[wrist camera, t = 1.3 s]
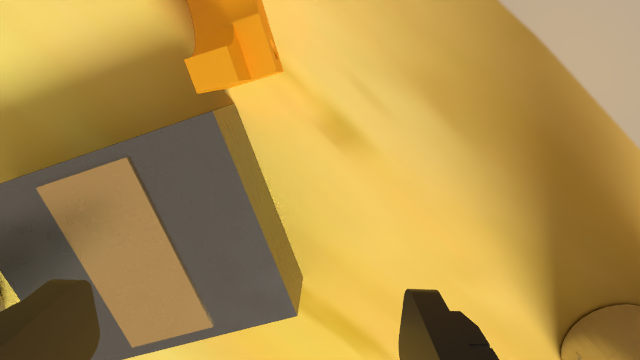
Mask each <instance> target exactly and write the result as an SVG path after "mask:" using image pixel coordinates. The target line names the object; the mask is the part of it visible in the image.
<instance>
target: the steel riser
mask: <svg viewBox="0 0 640 360" xmlns="http://www.w3.org/2000/svg"><path fill="white" fill-rule="evenodd" d="M0 271H1V273H2V274H3V276H4V277H5V279H6V280H7V281H8V283H9V284H10V286H11V287H12V289H13V290H14V292H15V293H16V295H17V296H18V297H19V299H20V300H21V301H22V300H24V299H25V298H26V297H28V296H29V295H30V294H32V293H33V292H34V291H35V290H37V289H38V288H39V287H41V286H42V285H43V284H45V283H46V282H48V281H50V280H53V279H65V280H86V281H88V282H89V283H90V285H91V287H92V291H93V296H94V302H95V307H96V312H97V317H98V323H99V328H100V339H99V343H98V347H97V349H96V351H95V353H94V355H93V357H92V358H91V359H90V360H123V359H127V358H131V357H135V356H139V355H143V354H147V353H151V352H155V351H159V350H163V349H167V348H171V347H175V346H179V345H183V344H187V343H191V342H195V341H199V340H203V339H207V338H211V337H215V336H219V335H223V334H227V333H231V332H235V331H239V330H243V329H247V328H251V327H255V326H259V325H263V324H267V323H271V322H275V321H279V320H283V319H287V318H291V317H295V316H297V315H298V308H299V301H300V294H301V288H302V281H303V276H302V274H301V271H300V269H299V266H298V264H297V261H296V259H295V256H294V253H293V251H292V248H291V246H290V243H289V241H288V238H287V236H286V233H285V231H284V228H283V225H282V223H281V220H280V218H279V215H278V213H277V210H276V208H275V205H274V203H273V200H272V197H271V195H270V192H269V190H268V187H267V185H266V182H265V180H264V177H263V175H262V172H261V169H260V167H259V164H258V162H257V159H256V157H255V154H254V152H253V149H252V147H251V144H250V141H249V139H248V136H247V134H246V131H245V129H244V126H243V124H242V121H241V119H240V116H239V113H238V111H237V108H236V106H235V104H232V105H229V106H226V107H223V108H219V109H216V110H213V111H211V112H208V113H205V114H202V115H199V116H196V117H193V118H190V119H187V120H184V121H181V122H178V123H176V124H173V125H170V126H167V127H164V128H161V129H158V130H155V131H152V132H149V133H146V134H144V135H141V136H138V137H135V138H132V139H129V140H126V141H123V142H120V143H117V144H114V145H112V146H109V147H106V148H103V149H100V150H97V151H94V152H91V153H88V154H85V155H82V156H79V157H77V158H74V159H71V160H68V161H65V162H62V163H59V164H56V165H53V166H50V167H47V168H45V169H42V170H39V171H36V172H33V173H30V174H27V175H24V176H21V177H18V178H15V179H13V180H10V181H7V182H4V183H1V184H0Z"/></svg>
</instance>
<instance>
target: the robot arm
mask: <svg viewBox="0 0 640 360" xmlns="http://www.w3.org/2000/svg"><path fill="white" fill-rule="evenodd" d="M99 339H100V328H99V323H98V317H97V312H96V307H95V302H94V296H93V291H92V287H91V285H90V283H89V282H88V281H86V280H65V279H53V280H50V281H48V282H46V283H45V284H43V285H42V286H41V287H39V288H38V289H37V290H35V291H34V292H33V293H32V294H30V295H29V296H28V297H26V298H25V299H24V300H22V301H20V302H18V303H16V304H14V305H12V306H10V307H8V308H7V309H5V310H3V311H1V312H0V360H90V359H91V358H92V357H93V355H94V353H95V351H96V349H97V347H98V343H99ZM399 357H400V360H499V359H498V357H497V355H496V354H495V352H494V351H493V349H492V348H490V344H489V343H488V341H487V340H486V338H485V337H484V335H483V333H482V332H481V330H480V329H479V327H478V326H477V325H476V324H475V323H473V322H472V321H471V320H470V319H469V318H467V317H466V316H465V315H464V314H463V313H462V312H460V311H449V309H448V307H447V305H446V304H445V302H444V300H443V298H442V296H441V295H440V293H439V292H438V291H437V290H424V289H407V290H406V291H405V294H404V301H403V309H402V317H401V325H400V333H399ZM561 358H562V360H640V306H639V305H631V304H622V305H613V306H608V307H604V308H602V309H599V310H596V311H594V312H592V313H590V314H588V315H587V316H585V317H583V318H582V319H581V320H580V321H578V322H577V323H576V324H575V325H574V326H573V327H572V328H571V330H570V331H569V332H568V333H567V335H566V337H565V339H564V341H563V344H562V348H561Z"/></svg>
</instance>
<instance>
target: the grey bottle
mask: <svg viewBox="0 0 640 360" xmlns="http://www.w3.org/2000/svg"><path fill="white" fill-rule="evenodd" d="M3 310H5V305H4V301H3V298H2V296H1V295H0V312H1V311H3Z"/></svg>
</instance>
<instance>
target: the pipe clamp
mask: <svg viewBox="0 0 640 360" xmlns="http://www.w3.org/2000/svg"><path fill="white" fill-rule="evenodd" d="M187 3H188V6H189V9H190V12H191V16H192V20H193V24H194V30H195V42H196V43H195V51H194V53H193V55H192V57H190V58H187V59H184V61H185V64H186V66H187V69H188V72H189V74H190V77H191V80H192V82H193V85H194V87H195V90H196V93H197V94H199V93H205V92H211V91H217V90H223V89H229V88H232V87H235V86H238V85H242V84H245V83H248V82H251V81H255V80H258V79H261V78H264V77H268V76H271V75H274V74H277V73H281V72H283V69H282V65H281V62H280V59H279V55H278V52H277V49H276V46H275V42H274V39H273V36H272V33H271V29H270V26H269V23H268V19H267V16H266V13H265V10H264V6H263V3H262V0H187Z"/></svg>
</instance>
